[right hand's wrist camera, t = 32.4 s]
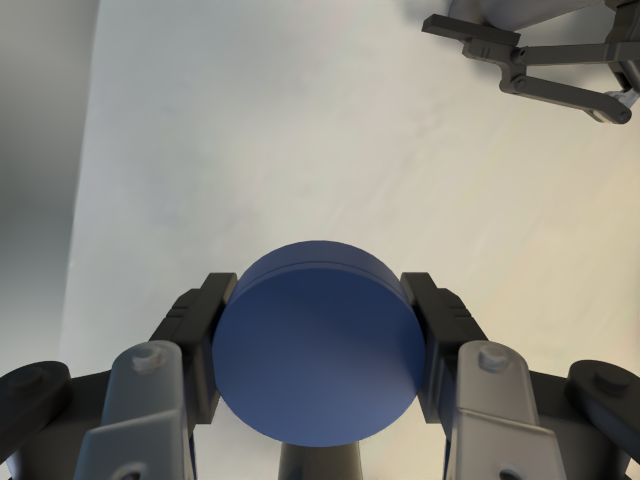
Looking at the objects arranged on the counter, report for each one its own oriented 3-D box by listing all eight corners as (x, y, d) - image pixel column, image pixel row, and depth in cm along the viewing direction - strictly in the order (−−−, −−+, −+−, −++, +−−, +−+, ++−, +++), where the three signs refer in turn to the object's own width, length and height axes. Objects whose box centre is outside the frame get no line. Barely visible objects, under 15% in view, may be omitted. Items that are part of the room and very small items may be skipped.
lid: (346, 202, 9) (352, 223, 8) (443, 346, 11) (465, 390, 9) (188, 304, 10) (164, 342, 9) (296, 424, 12) (293, 475, 10)
